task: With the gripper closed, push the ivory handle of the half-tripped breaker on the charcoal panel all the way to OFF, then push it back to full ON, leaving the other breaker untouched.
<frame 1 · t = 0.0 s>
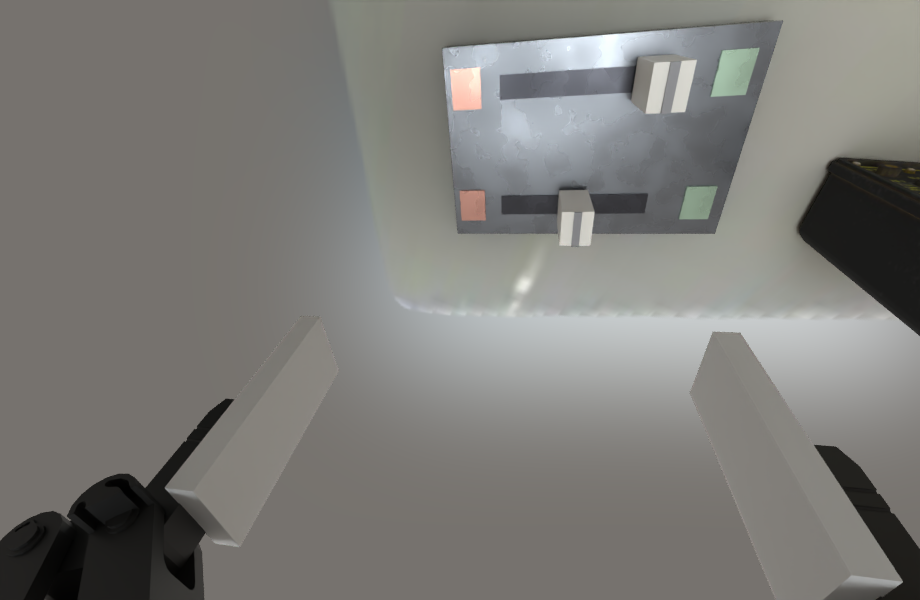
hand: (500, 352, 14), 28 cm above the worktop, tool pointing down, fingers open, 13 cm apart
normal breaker: (660, 83, 28), point 5 cm above the worktop, slide at 10.0 cm
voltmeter: (900, 201, 34), on the worktop
tripped breaker: (574, 217, 34), point 5 cm above the worktop, slide at 5.0 cm
breaker panel: (586, 141, 35), on the worktop
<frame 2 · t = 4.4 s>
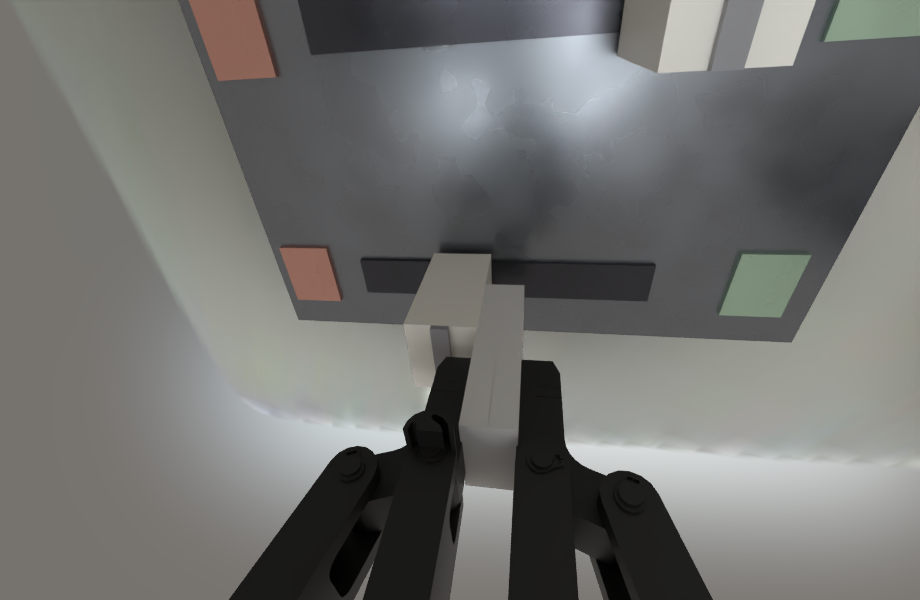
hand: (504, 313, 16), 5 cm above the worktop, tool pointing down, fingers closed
tripped breaker: (454, 317, 16), point 5 cm above the worktop, slide at 3.4 cm, touching gripper
breaker panel: (525, 153, 17), on the worktop
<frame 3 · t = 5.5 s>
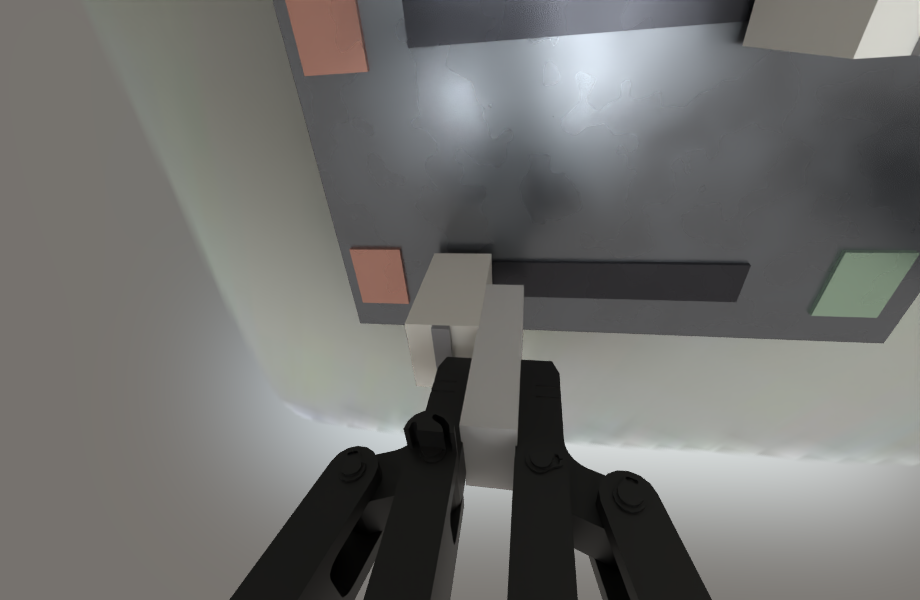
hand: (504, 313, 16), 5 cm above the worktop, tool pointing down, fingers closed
tripped breaker: (455, 317, 16), point 5 cm above the worktop, slide at -0.1 cm, touching gripper
breaker panel: (613, 149, 16), on the worktop
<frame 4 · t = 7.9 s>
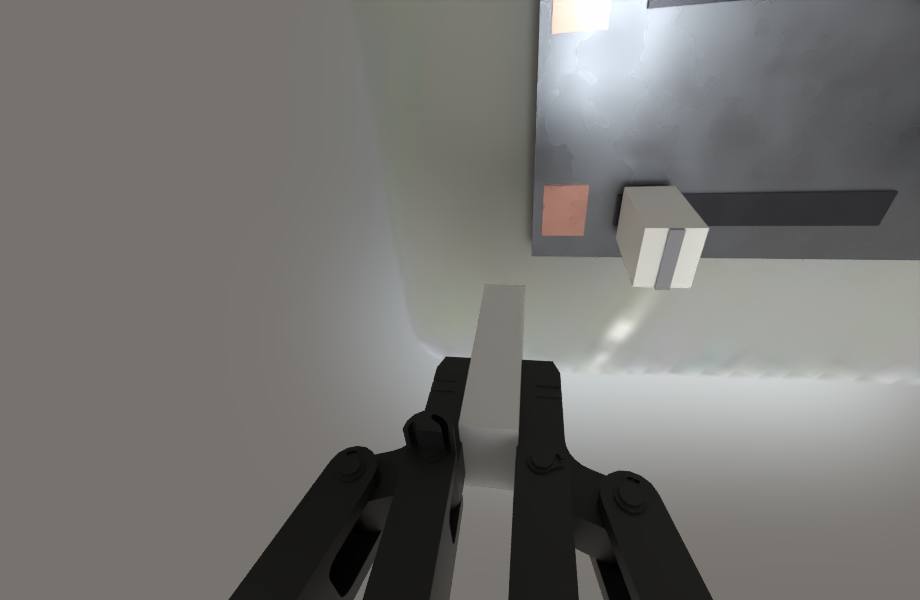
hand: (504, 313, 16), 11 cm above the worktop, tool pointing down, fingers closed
tripped breaker: (655, 234, 19), point 5 cm above the worktop, slide at -0.1 cm
breaker panel: (782, 97, 20), on the worktop
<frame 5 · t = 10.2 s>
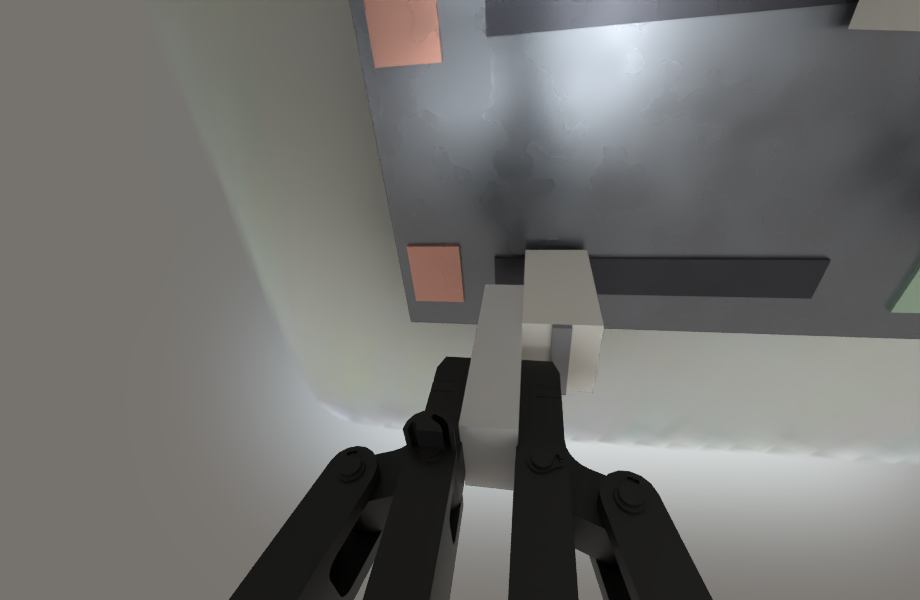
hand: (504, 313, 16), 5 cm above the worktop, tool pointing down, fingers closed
tripped breaker: (556, 316, 15), point 5 cm above the worktop, slide at 1.1 cm, touching gripper
breaker panel: (685, 141, 16), on the worktop
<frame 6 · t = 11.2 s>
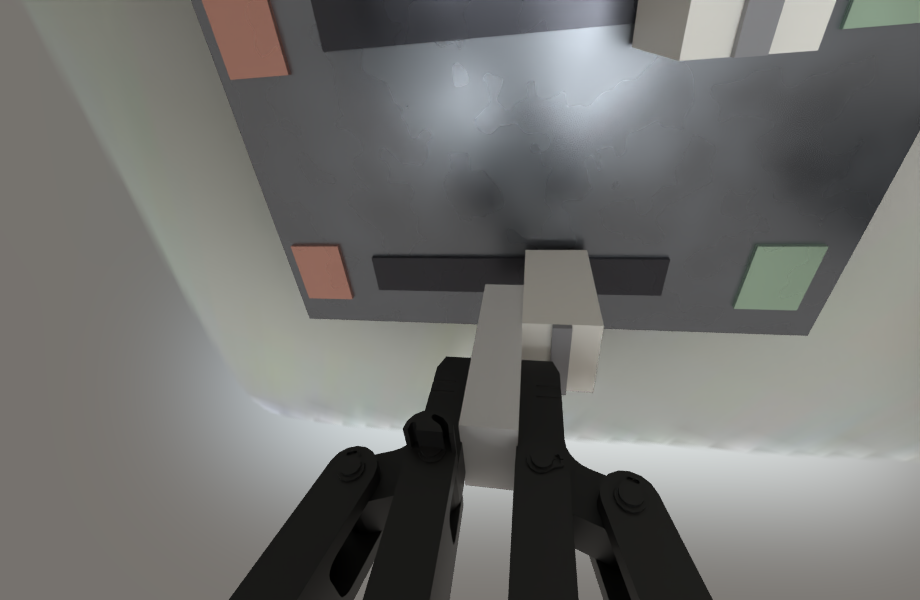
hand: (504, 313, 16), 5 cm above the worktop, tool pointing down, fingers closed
tripped breaker: (556, 316, 15), point 5 cm above the worktop, slide at 6.9 cm, touching gripper
breaker panel: (537, 147, 17), on the worktop
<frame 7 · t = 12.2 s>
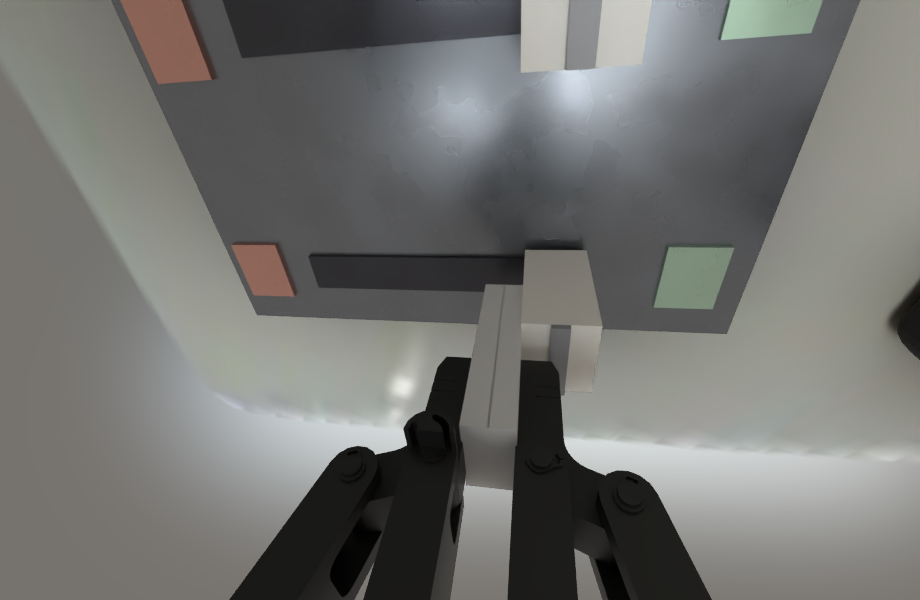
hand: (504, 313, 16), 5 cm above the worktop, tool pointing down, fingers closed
tripped breaker: (555, 316, 15), point 5 cm above the worktop, slide at 10.1 cm, touching gripper
breaker panel: (462, 150, 17), on the worktop
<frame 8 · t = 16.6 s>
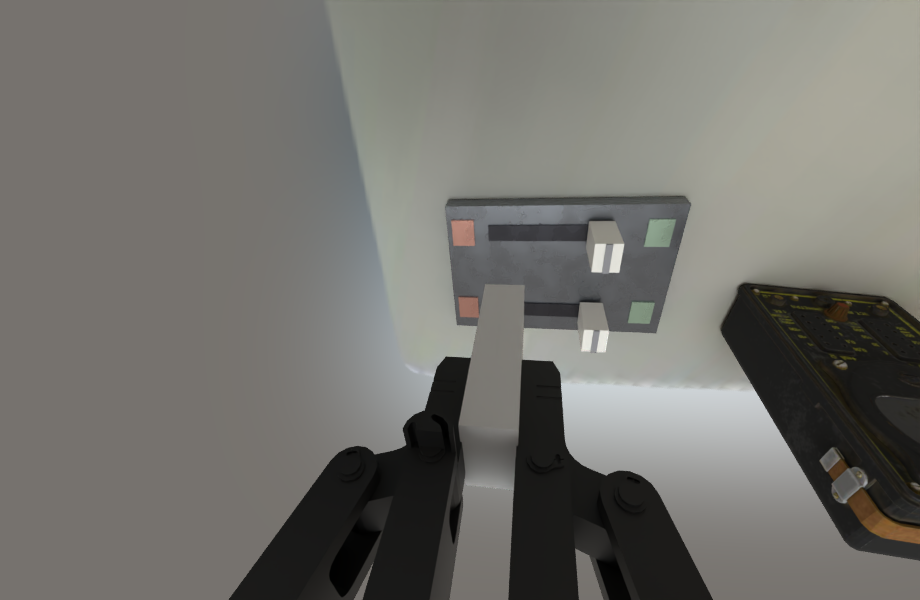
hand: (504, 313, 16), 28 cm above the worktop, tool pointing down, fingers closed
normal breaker: (603, 246, 38), point 5 cm above the worktop, slide at 10.0 cm
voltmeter: (795, 312, 45), on the worktop
tripped breaker: (592, 327, 44), point 5 cm above the worktop, slide at 10.1 cm
breaker panel: (555, 264, 46), on the worktop
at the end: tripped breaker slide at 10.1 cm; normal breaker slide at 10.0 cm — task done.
